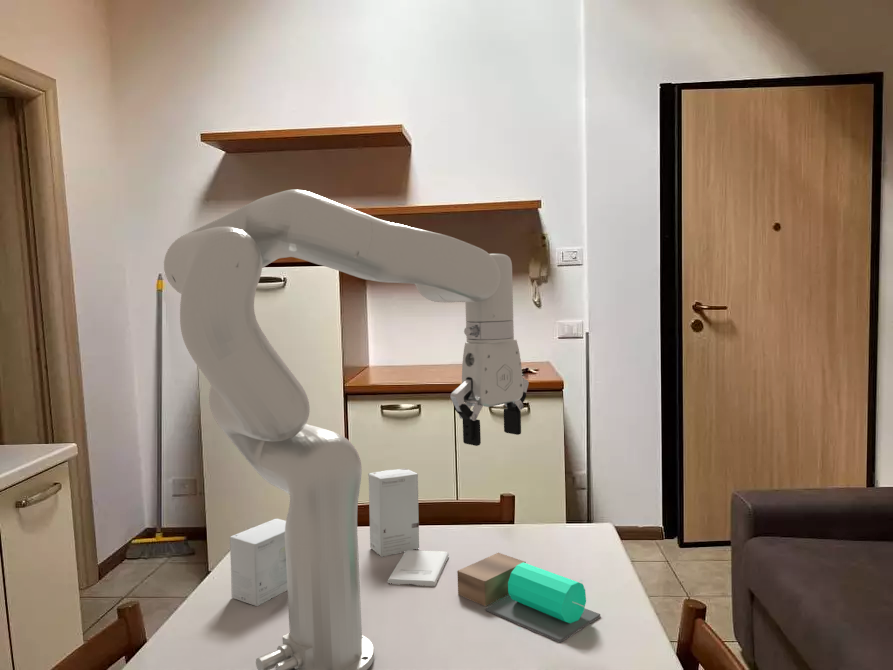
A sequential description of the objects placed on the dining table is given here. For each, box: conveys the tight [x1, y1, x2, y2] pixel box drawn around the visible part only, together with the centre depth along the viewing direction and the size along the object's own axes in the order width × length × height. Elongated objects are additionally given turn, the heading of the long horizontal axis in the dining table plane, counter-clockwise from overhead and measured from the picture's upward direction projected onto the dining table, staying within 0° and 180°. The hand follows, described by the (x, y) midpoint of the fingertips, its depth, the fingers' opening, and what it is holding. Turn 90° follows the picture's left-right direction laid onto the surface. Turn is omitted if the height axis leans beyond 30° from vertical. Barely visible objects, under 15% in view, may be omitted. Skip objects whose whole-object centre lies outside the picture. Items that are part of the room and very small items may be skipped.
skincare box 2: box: [367, 468, 420, 558], centre depth 131 cm, size 8×6×15 cm
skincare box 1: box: [229, 518, 288, 607], centre depth 115 cm, size 10×6×10 cm, turn 148°
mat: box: [485, 595, 601, 643], centre depth 104 cm, size 10×14×1 cm
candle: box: [508, 562, 587, 623], centre depth 103 cm, size 6×6×12 cm
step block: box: [456, 552, 526, 607], centre depth 112 cm, size 10×6×4 cm, turn 134°
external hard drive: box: [387, 549, 450, 587], centre depth 121 cm, size 2×8×12 cm
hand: (492, 438), depth 110 cm, fingers open, 9 cm apart
